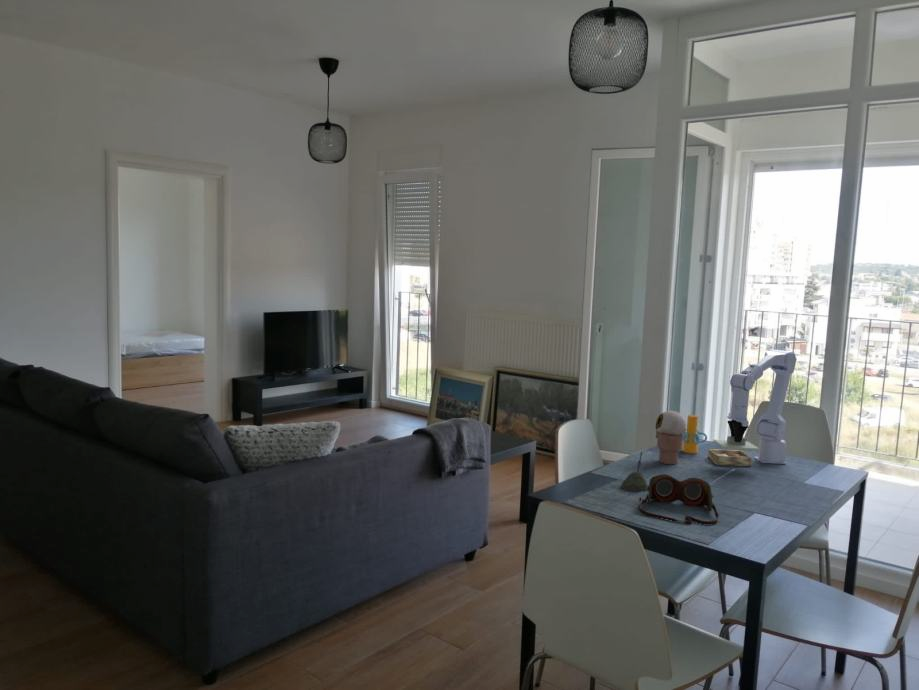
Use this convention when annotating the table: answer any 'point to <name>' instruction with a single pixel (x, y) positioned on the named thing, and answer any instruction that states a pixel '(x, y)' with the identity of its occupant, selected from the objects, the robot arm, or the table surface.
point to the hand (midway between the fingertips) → (736, 441)
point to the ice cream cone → (669, 435)
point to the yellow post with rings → (692, 435)
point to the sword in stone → (635, 481)
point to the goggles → (679, 495)
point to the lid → (736, 444)
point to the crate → (729, 457)
